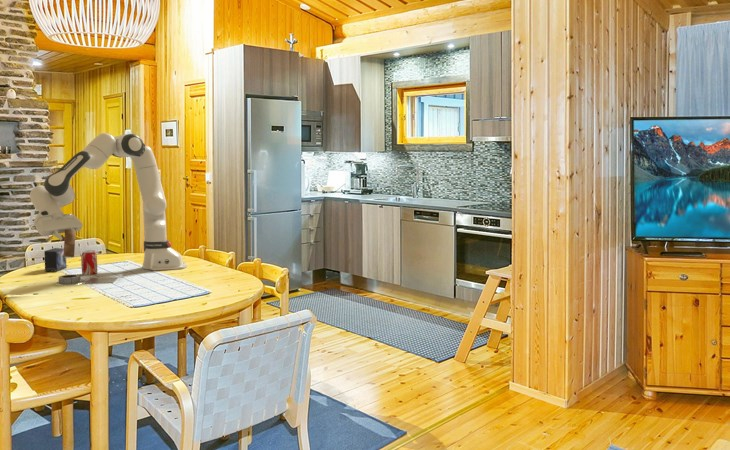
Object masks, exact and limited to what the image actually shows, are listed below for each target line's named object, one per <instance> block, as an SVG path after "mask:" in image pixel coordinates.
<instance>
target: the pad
mask: <svg viewBox="0 0 730 450" xmlns="http://www.w3.org/2000/svg"><path fill="white" fill-rule="evenodd" d="M117 279H118V277H117V276H113V277H111V276H110V277H90V278H89V279H88V280H86V281H85V282H84V284H86V285H88V284H90V285H93V284H95V285H96V284H114V282H116V280H117Z"/></svg>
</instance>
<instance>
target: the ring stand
mask: <svg viewBox="0 0 730 450" xmlns="http://www.w3.org/2000/svg"><path fill="white" fill-rule="evenodd" d="M54 284H55V286H60V287H64V286H65V287H69V286H77V285H82V284H85V280H81V275H80V274H65V275H60V276H58V282H56V283H54Z"/></svg>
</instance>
